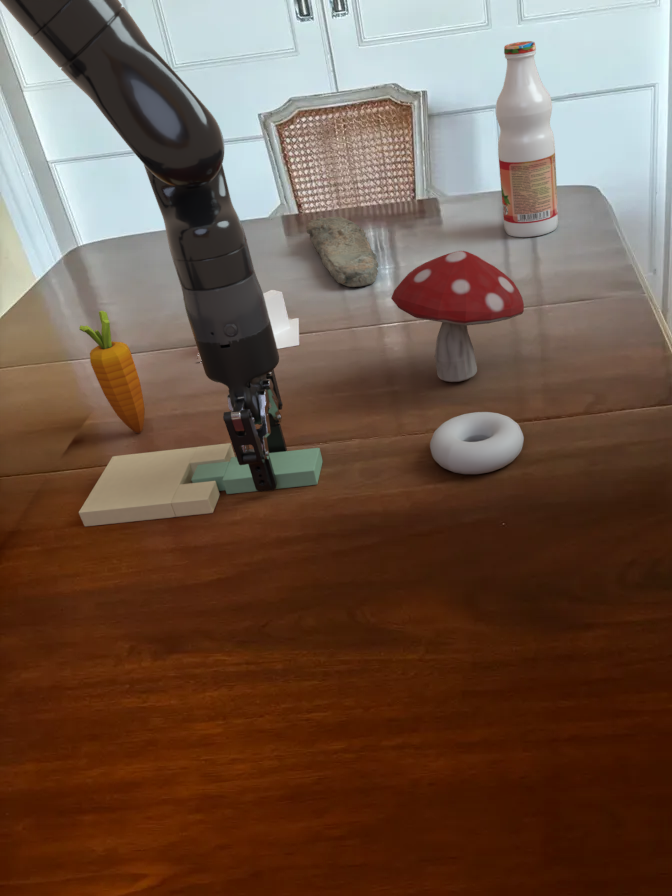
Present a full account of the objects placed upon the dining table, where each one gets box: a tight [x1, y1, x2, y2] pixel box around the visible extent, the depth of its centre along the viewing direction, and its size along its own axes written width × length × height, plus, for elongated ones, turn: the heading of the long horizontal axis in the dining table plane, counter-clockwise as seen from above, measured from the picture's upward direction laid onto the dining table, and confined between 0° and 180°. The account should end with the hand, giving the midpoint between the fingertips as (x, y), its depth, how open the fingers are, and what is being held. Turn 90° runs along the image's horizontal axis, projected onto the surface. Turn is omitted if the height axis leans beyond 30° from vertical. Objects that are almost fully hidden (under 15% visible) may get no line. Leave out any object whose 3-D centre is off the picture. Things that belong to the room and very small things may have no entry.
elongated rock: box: [305, 216, 379, 288], centre depth 155 cm, size 35×5×10 cm
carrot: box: [79, 310, 146, 435], centre depth 107 cm, size 5×5×15 cm
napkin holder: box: [197, 289, 300, 356], centre depth 130 cm, size 15×11×6 cm
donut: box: [429, 411, 525, 475], centre depth 95 cm, size 10×4×10 cm
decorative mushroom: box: [390, 250, 525, 383], centre depth 108 cm, size 16×16×15 cm
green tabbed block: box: [191, 447, 324, 495], centre depth 97 cm, size 14×5×2 cm, turn 90°
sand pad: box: [78, 442, 236, 528], centre depth 98 cm, size 14×12×2 cm
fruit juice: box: [495, 40, 559, 238], centre depth 148 cm, size 9×9×28 cm
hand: (272, 471), depth 97 cm, fingers open, 6 cm apart
